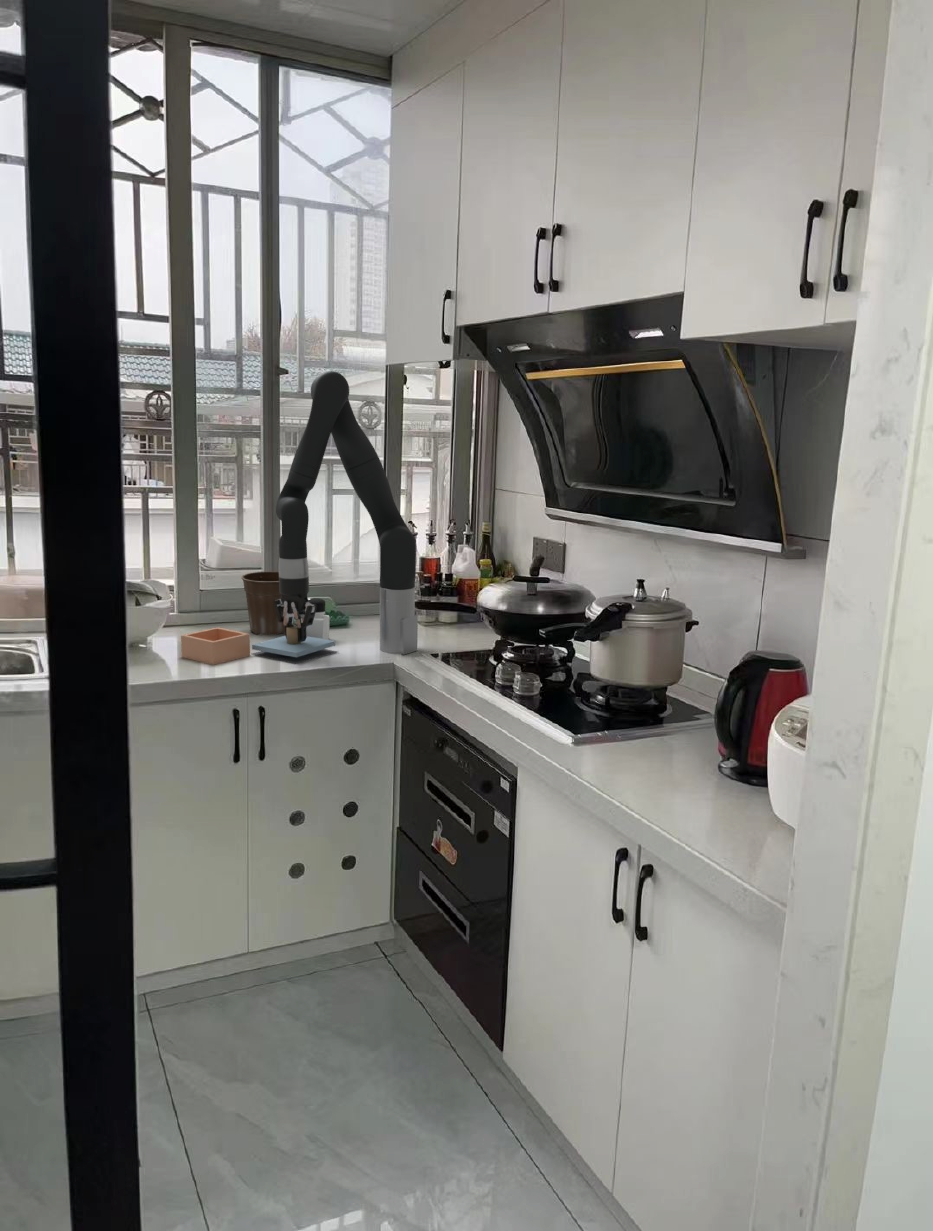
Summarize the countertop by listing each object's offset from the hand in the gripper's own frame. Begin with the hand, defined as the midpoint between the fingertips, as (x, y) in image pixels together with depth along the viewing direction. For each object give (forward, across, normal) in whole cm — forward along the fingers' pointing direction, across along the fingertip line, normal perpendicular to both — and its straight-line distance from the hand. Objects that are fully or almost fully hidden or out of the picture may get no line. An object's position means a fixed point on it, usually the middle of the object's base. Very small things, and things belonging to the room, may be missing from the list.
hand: (295, 640), depth 251 cm
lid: (+2, 0, +1) cm, 2 cm away
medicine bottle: (+4, +5, -12) cm, 14 cm away
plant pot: (+4, +24, -15) cm, 29 cm away
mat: (+4, 0, 0) cm, 4 cm away
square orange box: (+4, +14, +15) cm, 20 cm away
